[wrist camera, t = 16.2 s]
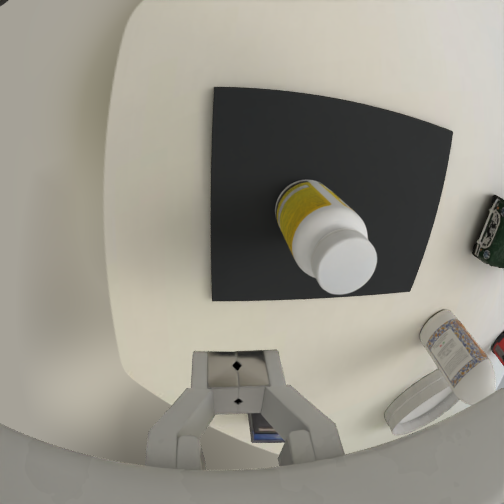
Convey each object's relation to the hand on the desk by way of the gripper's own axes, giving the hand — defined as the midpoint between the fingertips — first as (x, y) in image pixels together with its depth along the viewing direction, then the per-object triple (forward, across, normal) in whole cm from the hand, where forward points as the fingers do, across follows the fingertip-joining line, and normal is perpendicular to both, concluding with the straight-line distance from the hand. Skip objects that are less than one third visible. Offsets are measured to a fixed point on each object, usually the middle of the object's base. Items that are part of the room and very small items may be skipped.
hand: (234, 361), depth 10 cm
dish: (+17, -46, +43) cm, 65 cm away
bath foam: (+17, -33, +18) cm, 41 cm away
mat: (+17, -11, 0) cm, 20 cm away
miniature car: (+17, -41, +1) cm, 44 cm away
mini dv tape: (+17, -8, +35) cm, 40 cm away
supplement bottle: (+16, -7, 0) cm, 17 cm away
